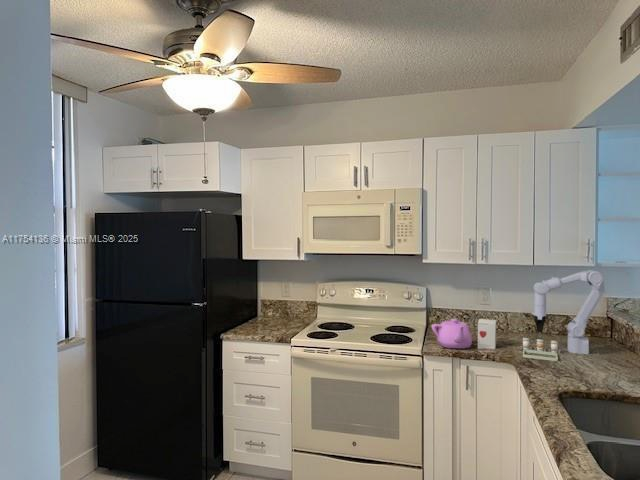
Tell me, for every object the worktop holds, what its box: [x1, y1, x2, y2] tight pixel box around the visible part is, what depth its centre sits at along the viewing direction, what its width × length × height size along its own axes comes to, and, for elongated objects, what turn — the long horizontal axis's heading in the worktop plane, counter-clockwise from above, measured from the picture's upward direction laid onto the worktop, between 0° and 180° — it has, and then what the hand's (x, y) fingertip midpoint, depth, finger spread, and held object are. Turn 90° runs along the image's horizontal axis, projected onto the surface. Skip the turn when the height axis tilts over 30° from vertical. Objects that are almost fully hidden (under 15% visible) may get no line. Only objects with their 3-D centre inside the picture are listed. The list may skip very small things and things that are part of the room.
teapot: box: [431, 318, 473, 350], centre depth 233 cm, size 23×21×15 cm
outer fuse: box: [522, 337, 530, 350], centre depth 226 cm, size 3×3×6 cm
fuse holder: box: [519, 345, 562, 356], centre depth 223 cm, size 19×6×2 cm, turn 63°
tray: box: [522, 349, 559, 362], centre depth 214 cm, size 15×11×2 cm
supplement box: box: [477, 318, 497, 350], centre depth 232 cm, size 9×9×15 cm
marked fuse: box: [536, 338, 544, 351], centre depth 223 cm, size 3×3×6 cm
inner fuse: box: [550, 339, 559, 353], centre depth 220 cm, size 3×3×6 cm
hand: (539, 330), depth 228 cm, fingers open, 7 cm apart
